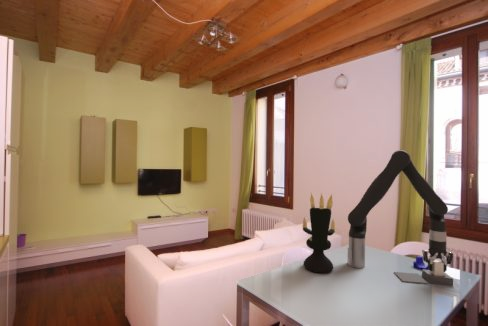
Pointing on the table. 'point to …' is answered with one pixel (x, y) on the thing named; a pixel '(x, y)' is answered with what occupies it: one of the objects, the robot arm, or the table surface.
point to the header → (437, 278)
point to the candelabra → (319, 236)
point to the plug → (437, 268)
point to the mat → (410, 277)
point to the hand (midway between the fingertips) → (437, 270)
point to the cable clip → (420, 263)
